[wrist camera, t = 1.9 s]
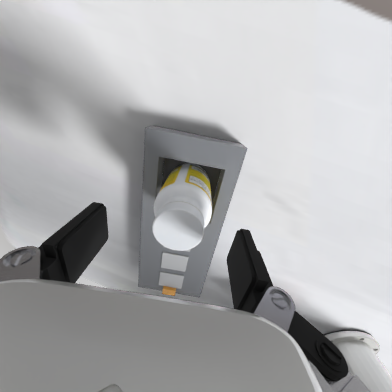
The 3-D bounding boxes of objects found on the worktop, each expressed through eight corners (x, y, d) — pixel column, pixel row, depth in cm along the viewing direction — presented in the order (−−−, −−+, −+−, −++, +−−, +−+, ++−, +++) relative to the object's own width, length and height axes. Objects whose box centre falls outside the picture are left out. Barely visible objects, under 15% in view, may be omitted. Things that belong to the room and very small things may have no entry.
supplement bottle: (170, 201, 23) (148, 257, 14) (166, 163, 20) (134, 199, 11) (210, 201, 22) (213, 258, 13) (210, 162, 20) (213, 199, 11)
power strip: (200, 280, 29) (199, 301, 26) (144, 270, 29) (136, 290, 26) (241, 143, 19) (248, 149, 15) (154, 125, 18) (143, 127, 15)
